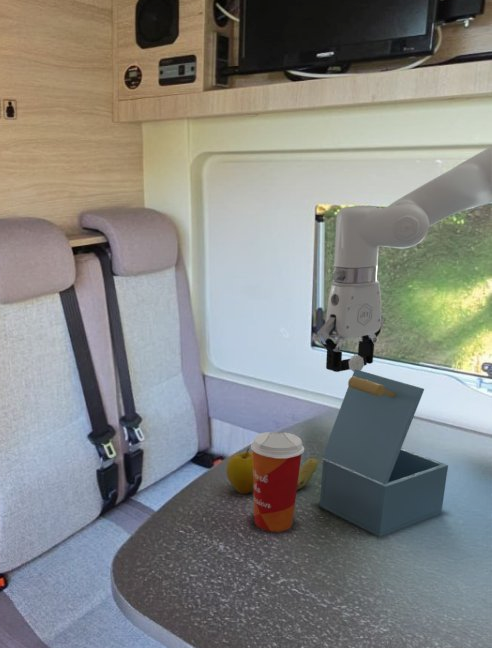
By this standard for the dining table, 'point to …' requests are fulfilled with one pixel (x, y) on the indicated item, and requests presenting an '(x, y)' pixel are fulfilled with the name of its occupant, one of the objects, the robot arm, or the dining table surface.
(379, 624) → the dining table surface
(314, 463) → the banana
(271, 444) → the coffee cup
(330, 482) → the chest
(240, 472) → the apple
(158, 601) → the dining table surface
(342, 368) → the watch
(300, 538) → the dining table surface
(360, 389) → the lid
